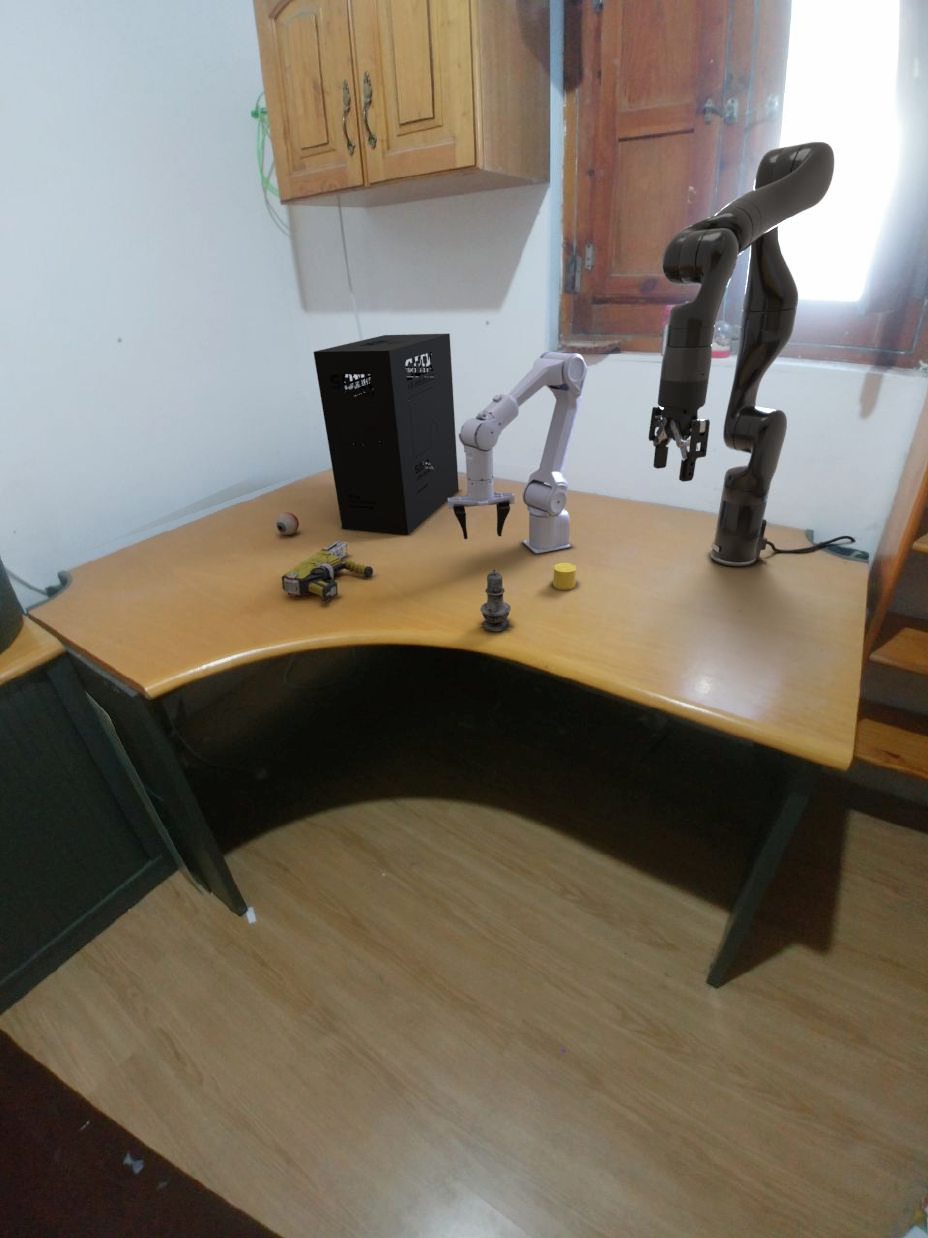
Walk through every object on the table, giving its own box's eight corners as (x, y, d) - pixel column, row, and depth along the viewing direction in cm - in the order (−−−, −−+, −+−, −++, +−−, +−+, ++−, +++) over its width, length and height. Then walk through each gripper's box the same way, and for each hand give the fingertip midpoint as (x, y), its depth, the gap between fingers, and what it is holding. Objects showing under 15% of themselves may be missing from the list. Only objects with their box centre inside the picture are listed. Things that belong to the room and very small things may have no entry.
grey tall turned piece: (508, 633, 114) (507, 576, 108) (478, 631, 116) (475, 574, 110) (512, 617, 119) (512, 562, 113) (483, 615, 120) (481, 561, 114)
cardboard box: (400, 486, 197) (384, 334, 175) (458, 490, 190) (449, 333, 168) (342, 528, 167) (313, 351, 144) (408, 534, 160) (389, 350, 138)
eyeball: (273, 537, 164) (268, 516, 161) (287, 528, 169) (282, 508, 166) (291, 539, 161) (286, 518, 158) (305, 530, 166) (301, 510, 163)
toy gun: (389, 548, 145) (334, 537, 149) (339, 588, 125) (277, 575, 129) (389, 566, 147) (335, 555, 151) (340, 608, 127) (279, 595, 131)
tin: (573, 590, 128) (574, 572, 126) (551, 588, 130) (552, 571, 127) (576, 580, 132) (577, 563, 130) (555, 579, 133) (555, 561, 131)
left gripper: (447, 485, 126) (451, 545, 132) (516, 479, 126) (517, 540, 133) (445, 475, 132) (449, 533, 138) (511, 470, 132) (511, 528, 139)
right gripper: (732, 379, 93) (715, 482, 101) (681, 368, 105) (669, 461, 113) (688, 383, 91) (674, 488, 99) (641, 371, 103) (633, 465, 111)
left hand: (482, 536), depth 136 cm, fingers open, 7 cm apart
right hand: (672, 473), depth 106 cm, fingers open, 8 cm apart
